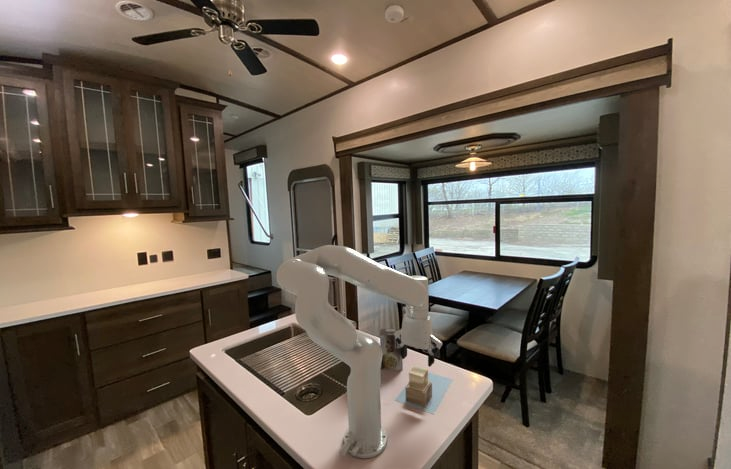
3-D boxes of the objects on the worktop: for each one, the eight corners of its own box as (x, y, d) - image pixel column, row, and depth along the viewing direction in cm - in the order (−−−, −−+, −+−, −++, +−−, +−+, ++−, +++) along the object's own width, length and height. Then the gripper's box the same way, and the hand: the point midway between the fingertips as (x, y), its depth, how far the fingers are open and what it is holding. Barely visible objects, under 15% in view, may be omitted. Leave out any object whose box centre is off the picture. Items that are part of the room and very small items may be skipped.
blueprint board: (433, 417, 92) (433, 399, 91) (394, 402, 99) (394, 386, 99) (452, 381, 110) (452, 366, 110) (418, 371, 118) (418, 357, 117)
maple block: (423, 390, 96) (422, 376, 95) (409, 386, 98) (408, 372, 98) (428, 383, 100) (428, 369, 99) (414, 378, 102) (414, 365, 102)
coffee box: (402, 364, 124) (401, 328, 122) (402, 372, 117) (402, 334, 116) (381, 363, 125) (380, 328, 123) (380, 372, 118) (379, 334, 117)
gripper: (389, 311, 98) (389, 359, 99) (438, 320, 89) (438, 373, 90) (399, 305, 105) (399, 350, 106) (445, 313, 95) (445, 362, 96)
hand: (417, 360), depth 98 cm, fingers open, 9 cm apart
